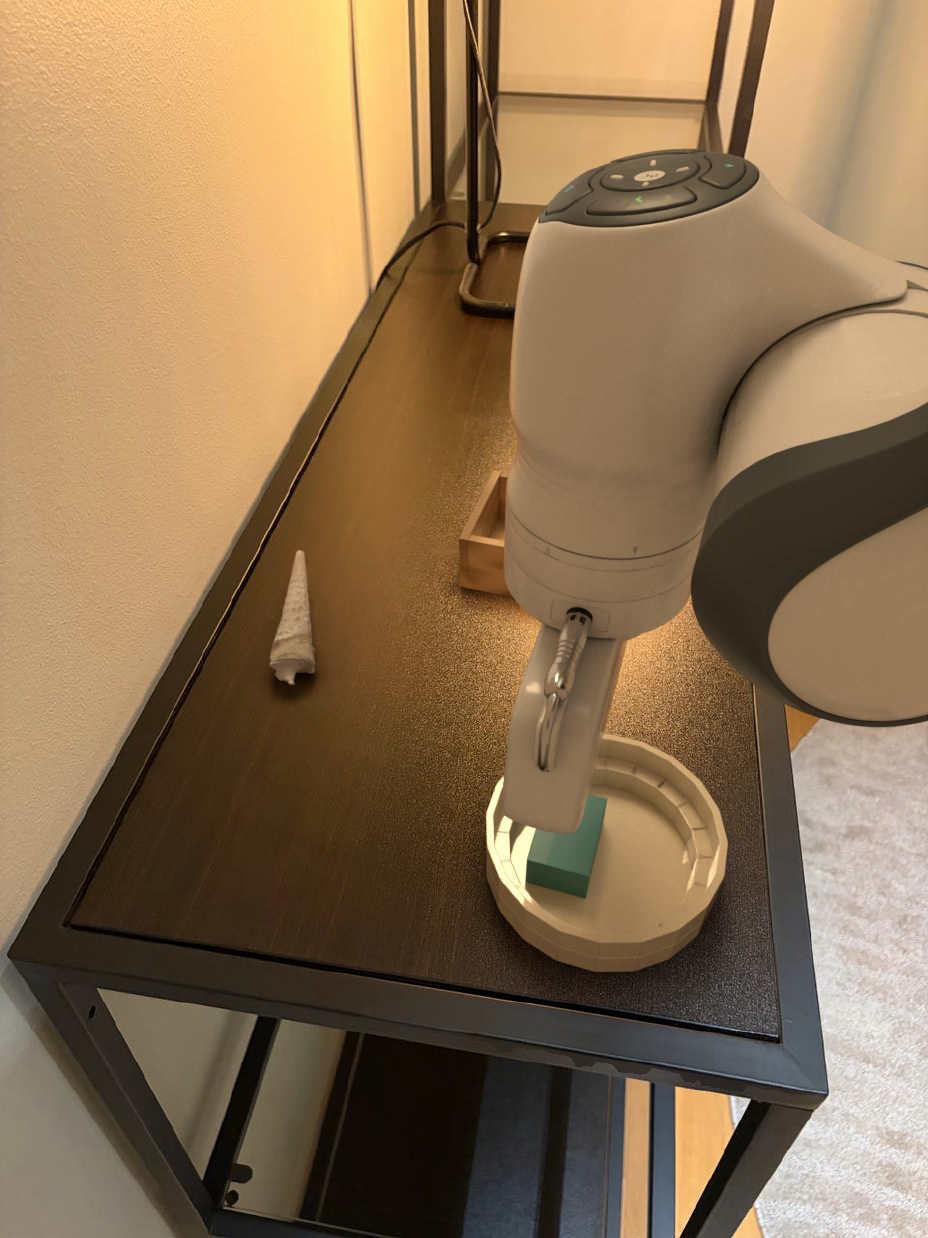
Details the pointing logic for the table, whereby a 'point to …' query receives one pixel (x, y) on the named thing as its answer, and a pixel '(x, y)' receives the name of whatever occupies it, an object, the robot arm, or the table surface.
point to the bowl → (620, 866)
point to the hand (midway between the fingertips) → (575, 733)
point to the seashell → (294, 628)
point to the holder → (485, 540)
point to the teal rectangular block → (567, 853)
